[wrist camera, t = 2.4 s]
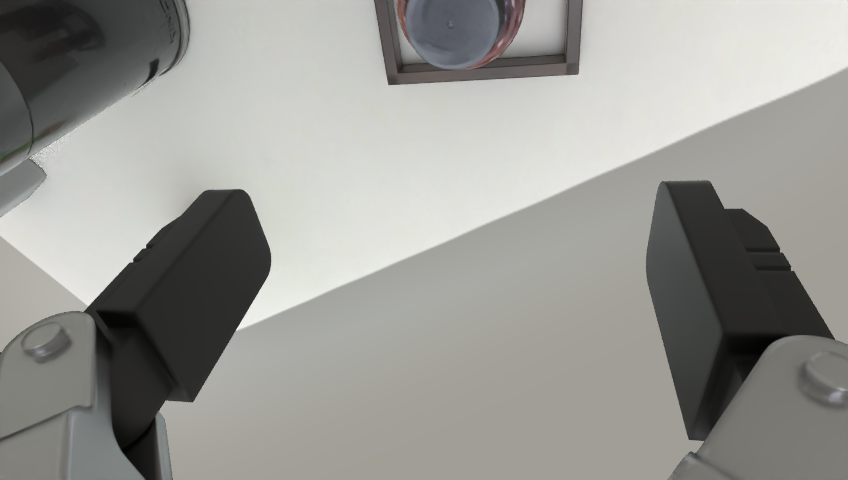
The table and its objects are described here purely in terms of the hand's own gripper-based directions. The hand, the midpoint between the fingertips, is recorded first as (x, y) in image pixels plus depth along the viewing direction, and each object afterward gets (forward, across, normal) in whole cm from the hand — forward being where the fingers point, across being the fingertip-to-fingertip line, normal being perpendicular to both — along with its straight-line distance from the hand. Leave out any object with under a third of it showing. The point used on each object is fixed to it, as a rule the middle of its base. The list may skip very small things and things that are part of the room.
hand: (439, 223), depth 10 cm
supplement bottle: (+26, +1, 0) cm, 26 cm away
